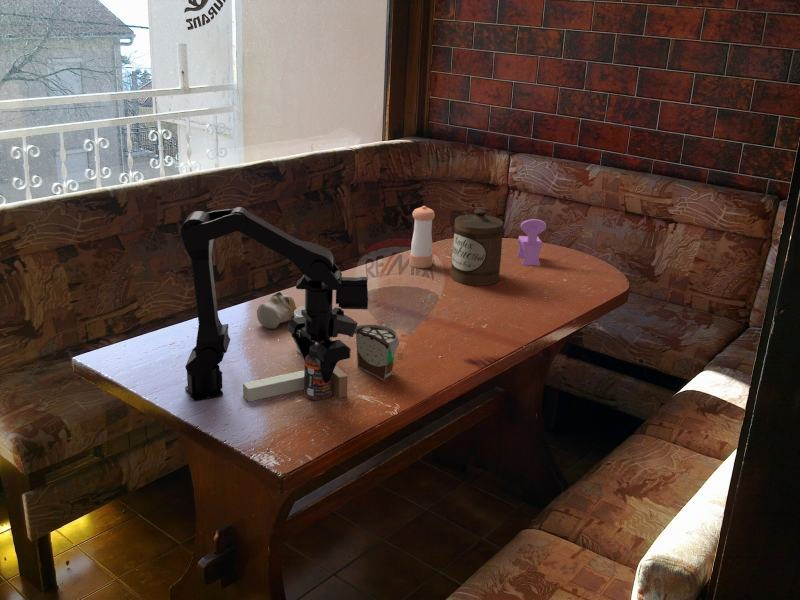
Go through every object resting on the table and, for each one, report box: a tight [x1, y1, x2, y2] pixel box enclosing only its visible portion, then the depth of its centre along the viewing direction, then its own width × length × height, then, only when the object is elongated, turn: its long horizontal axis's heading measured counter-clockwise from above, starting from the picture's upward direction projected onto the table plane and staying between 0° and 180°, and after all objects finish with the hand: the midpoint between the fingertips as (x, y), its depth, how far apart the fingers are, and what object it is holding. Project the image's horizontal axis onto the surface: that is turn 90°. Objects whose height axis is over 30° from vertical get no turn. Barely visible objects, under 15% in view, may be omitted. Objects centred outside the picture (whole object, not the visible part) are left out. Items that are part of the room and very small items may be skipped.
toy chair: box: [516, 218, 547, 267], centre depth 273 cm, size 8×9×15 cm
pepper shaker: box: [409, 205, 436, 269], centre depth 263 cm, size 7×7×19 cm
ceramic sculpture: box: [256, 291, 298, 330], centre depth 217 cm, size 11×9×15 cm
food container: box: [354, 324, 400, 382], centre depth 193 cm, size 12×6×10 cm, turn 44°
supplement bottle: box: [303, 344, 332, 401], centre depth 181 cm, size 6×6×11 cm
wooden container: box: [450, 207, 504, 286], centre depth 254 cm, size 15×15×22 cm
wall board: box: [242, 365, 348, 402], centre depth 181 cm, size 20×10×5 cm, turn 121°
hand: (317, 374), depth 181 cm, fingers open, 8 cm apart
